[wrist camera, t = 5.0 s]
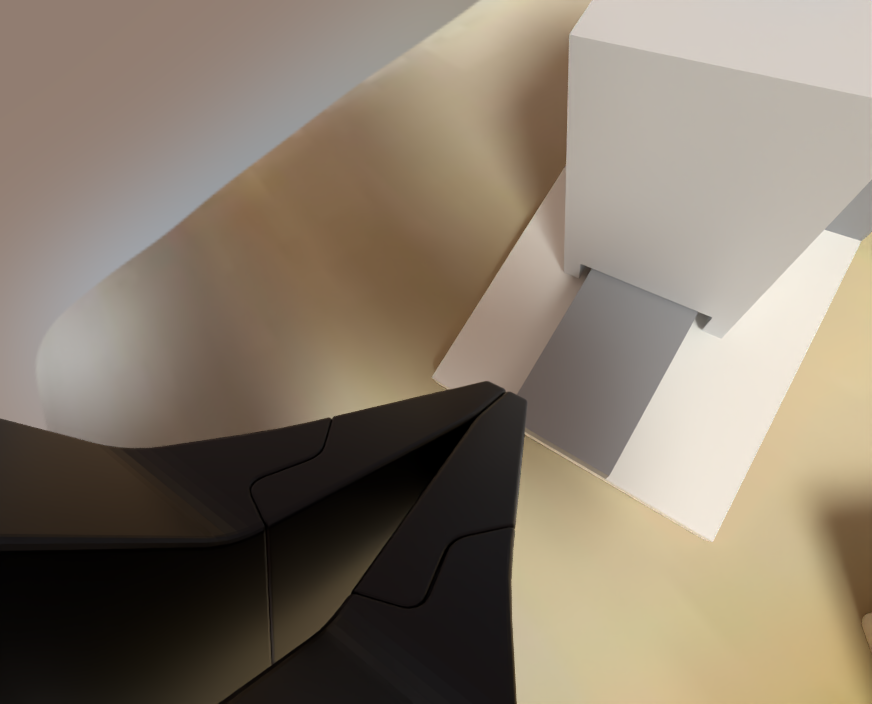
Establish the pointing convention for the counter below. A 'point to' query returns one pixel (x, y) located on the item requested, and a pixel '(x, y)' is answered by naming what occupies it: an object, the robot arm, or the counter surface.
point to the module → (713, 141)
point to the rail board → (647, 365)
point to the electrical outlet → (868, 628)
